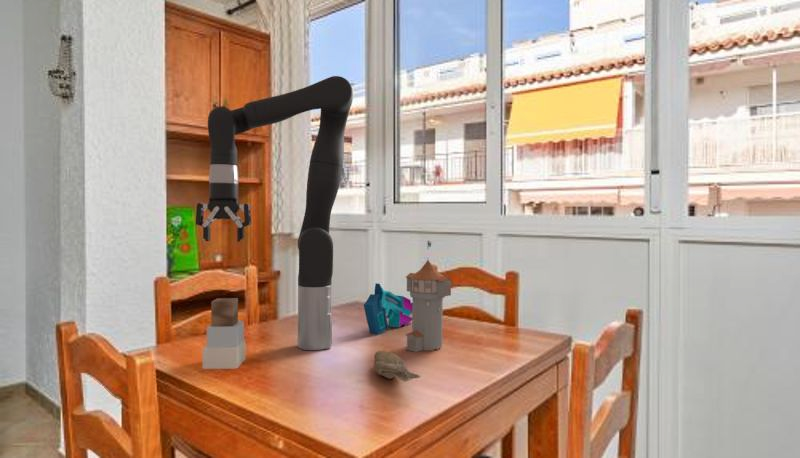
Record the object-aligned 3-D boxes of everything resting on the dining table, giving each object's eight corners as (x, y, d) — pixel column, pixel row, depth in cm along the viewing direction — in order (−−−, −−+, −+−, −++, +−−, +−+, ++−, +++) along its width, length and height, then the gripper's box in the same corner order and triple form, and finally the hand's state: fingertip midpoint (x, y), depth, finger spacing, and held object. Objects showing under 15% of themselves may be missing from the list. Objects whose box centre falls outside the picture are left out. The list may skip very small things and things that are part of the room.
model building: (457, 347, 140) (459, 240, 139) (430, 356, 131) (432, 242, 130) (420, 339, 149) (421, 239, 148) (392, 346, 141) (393, 240, 140)
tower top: (243, 340, 126) (243, 320, 126) (236, 347, 120) (236, 327, 119) (215, 340, 126) (215, 320, 126) (206, 347, 119) (206, 327, 119)
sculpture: (398, 401, 99) (398, 376, 99) (362, 366, 122) (363, 345, 122) (427, 398, 101) (427, 373, 101) (386, 363, 124) (387, 343, 124)
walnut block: (237, 322, 125) (238, 298, 125) (232, 326, 120) (232, 301, 120) (217, 322, 125) (217, 298, 124) (211, 326, 120) (211, 301, 119)
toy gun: (408, 346, 168) (418, 303, 173) (367, 330, 148) (379, 282, 153) (398, 344, 171) (407, 302, 175) (356, 328, 151) (368, 280, 155)
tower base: (245, 359, 127) (245, 340, 127) (236, 369, 119) (236, 348, 119) (213, 359, 126) (213, 340, 126) (202, 369, 118) (202, 348, 118)
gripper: (253, 183, 141) (253, 241, 141) (201, 182, 140) (201, 240, 140) (247, 181, 133) (246, 242, 134) (192, 180, 132) (192, 241, 133)
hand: (223, 241), depth 137 cm, fingers open, 8 cm apart
